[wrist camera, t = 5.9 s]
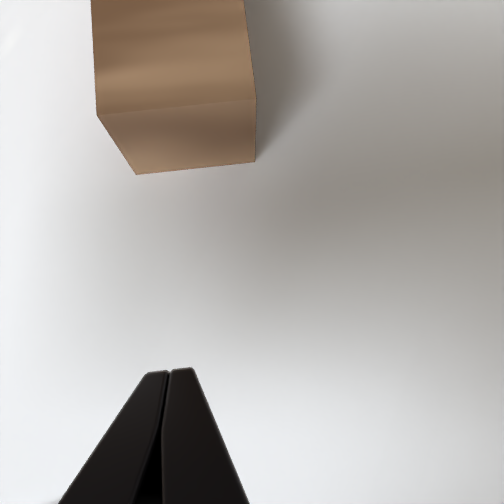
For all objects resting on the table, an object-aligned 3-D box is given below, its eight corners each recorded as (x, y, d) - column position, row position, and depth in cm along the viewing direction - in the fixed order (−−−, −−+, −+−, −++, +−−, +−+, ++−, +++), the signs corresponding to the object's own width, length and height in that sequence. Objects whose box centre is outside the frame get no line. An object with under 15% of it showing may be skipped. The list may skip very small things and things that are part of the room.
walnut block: (256, 98, 14) (217, -197, 17) (96, 115, 14) (81, -185, 17) (254, 162, 19) (225, -74, 22) (136, 174, 19) (119, -64, 21)
